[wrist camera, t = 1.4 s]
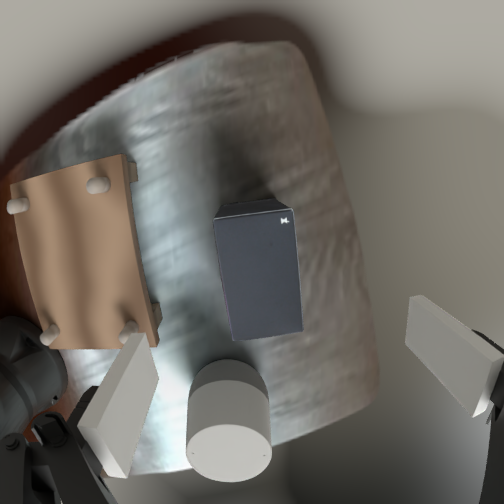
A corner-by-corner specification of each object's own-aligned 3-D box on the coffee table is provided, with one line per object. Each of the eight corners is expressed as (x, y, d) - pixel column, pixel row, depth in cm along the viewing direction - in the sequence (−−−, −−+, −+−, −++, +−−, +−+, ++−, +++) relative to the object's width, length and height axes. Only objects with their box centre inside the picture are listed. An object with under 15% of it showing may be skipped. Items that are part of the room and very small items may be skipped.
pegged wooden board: (70, 327, 35) (39, 359, 26) (39, 182, 30) (-4, 186, 22) (167, 321, 35) (151, 360, 27) (139, 157, 31) (110, 151, 22)
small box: (216, 204, 32) (208, 216, 22) (277, 196, 33) (296, 204, 22) (230, 298, 35) (229, 344, 25) (287, 289, 35) (307, 332, 25)
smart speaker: (268, 353, 37) (284, 433, 23) (262, 407, 39) (273, 486, 25) (191, 349, 36) (174, 429, 23) (193, 404, 38) (182, 483, 25)
